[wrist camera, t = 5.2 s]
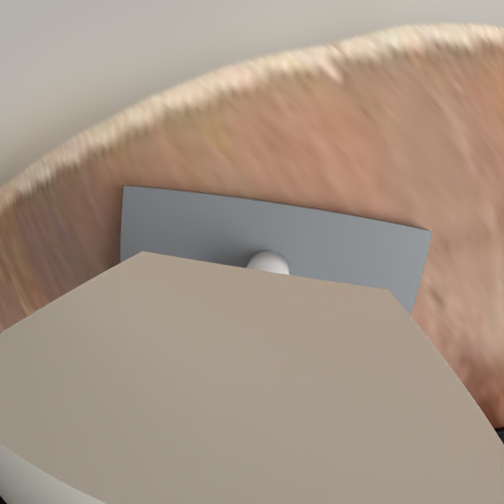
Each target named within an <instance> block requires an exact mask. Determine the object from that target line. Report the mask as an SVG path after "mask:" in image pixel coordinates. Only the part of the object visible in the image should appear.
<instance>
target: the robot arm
mask: <svg viewBox="0 0 504 504" xmlns="http://www.w3.org/2000/svg"><path fill="white" fill-rule="evenodd" d="M495 431H496V433H497V435H498V436H499V438H500V439H501V441H502V442H503V444H504V428H503V429H498V430H495ZM0 504H7V503H6V502H5V501H4V499H3V498H2V497H1V496H0Z"/></svg>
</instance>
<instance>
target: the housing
mask: <svg viewBox="0 0 504 504" xmlns="http://www.w3.org/2000/svg"><path fill="white" fill-rule="evenodd" d="M0 496H1V497H2V498H3V499H4V501H5V502H6V503H7V504H504V444H503V442H502V441H501V439H500V438H499V436H498V435H497V433H496V431H495V430H494V428H493V427H492V425H491V424H490V422H489V421H488V419H487V418H486V416H485V415H484V413H483V412H482V410H481V409H480V407H479V406H478V404H477V403H476V402H475V400H474V399H473V397H472V396H471V394H470V393H469V392H468V390H467V389H466V387H465V386H464V385H463V383H462V382H461V380H460V379H459V378H458V376H457V375H456V374H455V372H454V371H453V370H452V368H451V367H450V366H449V364H448V363H447V362H446V360H445V359H444V358H443V356H442V355H441V354H440V352H439V351H438V350H437V348H436V347H435V346H434V345H433V343H432V342H431V341H430V339H429V338H428V337H427V336H426V334H425V333H424V332H423V331H422V329H421V328H420V327H419V326H418V324H417V323H416V322H415V321H414V319H413V318H412V317H411V316H410V315H409V313H408V312H407V311H406V310H405V309H404V307H403V306H402V305H401V304H400V303H399V301H398V300H397V299H396V298H395V297H394V295H393V294H392V293H391V292H390V291H389V290H388V289H382V288H375V287H368V286H361V285H354V284H347V283H340V282H333V281H327V280H320V279H313V278H307V277H300V276H293V275H287V274H280V273H274V272H267V271H261V270H254V269H248V268H242V267H235V266H229V265H223V264H217V263H211V262H205V261H198V260H192V259H186V258H180V257H174V256H168V255H163V254H157V253H151V252H145V251H142V252H140V253H138V254H136V255H134V256H132V257H131V258H129V259H127V260H125V261H123V262H121V263H119V264H118V265H116V266H114V267H112V268H110V269H108V270H107V271H105V272H103V273H101V274H99V275H98V276H96V277H94V278H92V279H90V280H89V281H87V282H85V283H83V284H82V285H80V286H78V287H76V288H75V289H73V290H71V291H69V292H68V293H66V294H64V295H63V296H61V297H59V298H57V299H56V300H54V301H52V302H51V303H49V304H47V305H46V306H44V307H42V308H40V309H39V310H37V311H35V312H34V313H32V314H31V315H29V316H27V317H26V318H24V319H22V320H21V321H19V322H17V323H16V324H14V325H13V326H11V327H9V328H8V329H6V330H5V331H3V332H1V333H0Z"/></svg>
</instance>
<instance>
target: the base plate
mask: <svg viewBox="0 0 504 504" xmlns="http://www.w3.org/2000/svg"><path fill="white" fill-rule="evenodd" d="M431 234H432V231H429V230H427V229H424V228H419V227H415V226H410V225H405V224H400V223H395V222H390V221H385V220H379V219H374V218H369V217H363V216H358V215H352V214H347V213H341V212H335V211H329V210H323V209H317V208H311V207H305V206H298V205H292V204H285V203H278V202H272V201H265V200H257V199H250V198H243V197H235V196H227V195H219V194H211V193H203V192H194V191H185V190H176V189H166V188H156V187H145V186H134V185H129V186H124V188H123V201H122V217H121V241H120V263H121V262H123V261H125V260H127V259H129V258H131V257H132V256H134V255H136V254H138V253H140V252H142V251H145V252H151V253H157V254H163V255H168V256H174V257H180V258H186V259H192V260H198V261H205V262H211V263H217V264H223V265H229V266H235V267H242V268H248V269H254V270H261V271H267V272H274V273H280V274H287V275H293V276H300V277H307V278H313V279H320V280H327V281H333V282H340V283H347V284H354V285H361V286H368V287H375V288H382V289H388V290H389V291H390V292H391V293H392V294H393V295H394V297H395V298H396V299H397V300H398V301H399V303H400V304H401V305H402V306H403V307H404V309H405V310H406V311H407V312H408V313H409V315H410V316H411V313H412V309H413V306H414V303H415V299H416V296H417V292H418V289H419V285H420V281H421V277H422V274H423V270H424V266H425V261H426V257H427V253H428V248H429V244H430V239H431Z"/></svg>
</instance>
